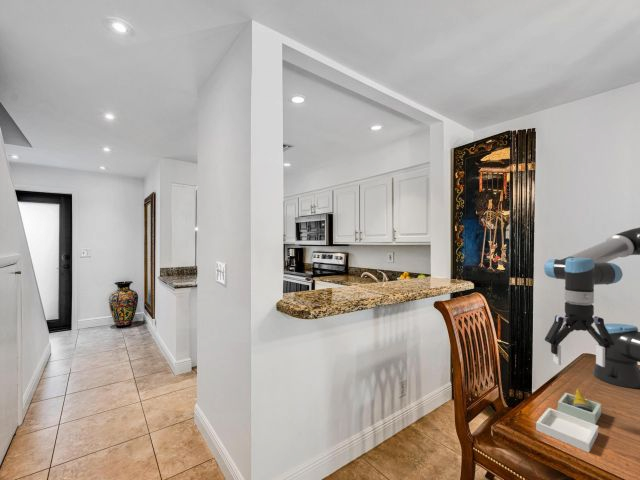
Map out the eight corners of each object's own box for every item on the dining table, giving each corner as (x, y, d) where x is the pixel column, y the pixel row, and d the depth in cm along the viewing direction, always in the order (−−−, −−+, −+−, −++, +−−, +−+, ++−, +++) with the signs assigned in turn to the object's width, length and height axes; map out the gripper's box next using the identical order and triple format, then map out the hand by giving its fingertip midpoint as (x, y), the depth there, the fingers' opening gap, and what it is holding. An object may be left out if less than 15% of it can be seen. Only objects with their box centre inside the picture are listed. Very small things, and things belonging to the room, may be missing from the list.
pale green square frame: (565, 401, 109) (565, 392, 109) (601, 414, 102) (601, 403, 102) (557, 411, 103) (557, 401, 103) (595, 425, 96) (594, 414, 96)
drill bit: (569, 416, 102) (563, 386, 108) (584, 423, 101) (577, 393, 108) (584, 414, 97) (577, 383, 104) (599, 421, 97) (591, 390, 104)
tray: (548, 414, 102) (548, 407, 102) (598, 433, 92) (598, 425, 92) (536, 430, 94) (536, 422, 94) (589, 452, 84) (589, 443, 84)
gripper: (546, 304, 100) (546, 367, 100) (629, 306, 97) (629, 371, 97) (533, 299, 107) (533, 358, 108) (610, 301, 104) (609, 361, 104)
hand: (578, 364), depth 102 cm, fingers open, 13 cm apart
